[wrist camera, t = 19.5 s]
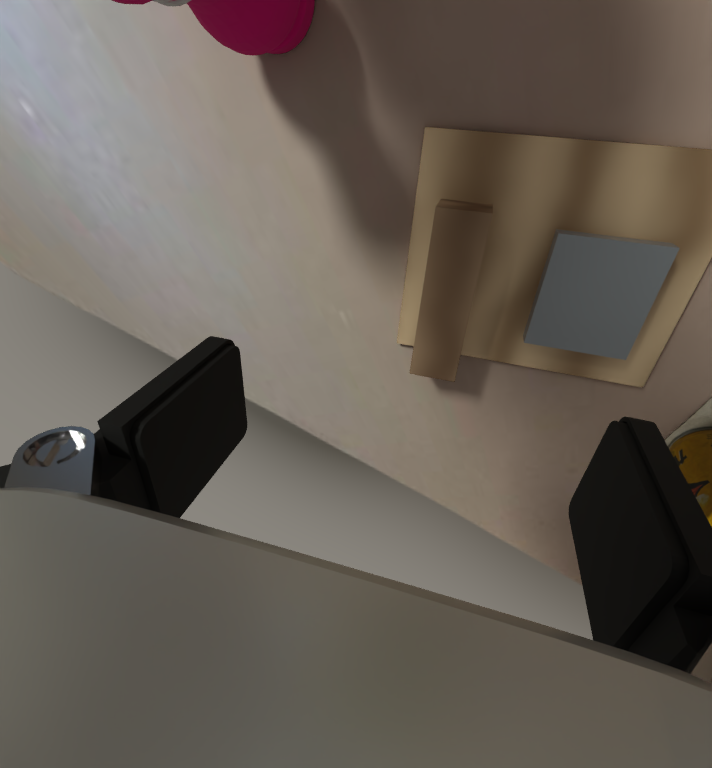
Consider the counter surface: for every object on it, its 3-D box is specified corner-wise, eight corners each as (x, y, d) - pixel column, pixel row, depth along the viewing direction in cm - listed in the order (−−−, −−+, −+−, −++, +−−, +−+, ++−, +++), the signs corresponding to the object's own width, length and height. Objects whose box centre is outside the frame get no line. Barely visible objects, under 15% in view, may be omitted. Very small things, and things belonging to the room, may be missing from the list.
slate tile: (555, 228, 32) (522, 333, 37) (558, 233, 30) (523, 342, 35) (670, 242, 30) (620, 350, 35) (679, 248, 29) (625, 360, 34)
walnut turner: (416, 353, 41) (409, 373, 37) (440, 198, 33) (435, 207, 30) (457, 360, 40) (454, 382, 37) (492, 204, 32) (492, 213, 29)
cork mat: (397, 340, 41) (396, 343, 41) (425, 127, 31) (424, 127, 31) (640, 384, 37) (642, 387, 36) (761, 153, 27) (766, 154, 27)
